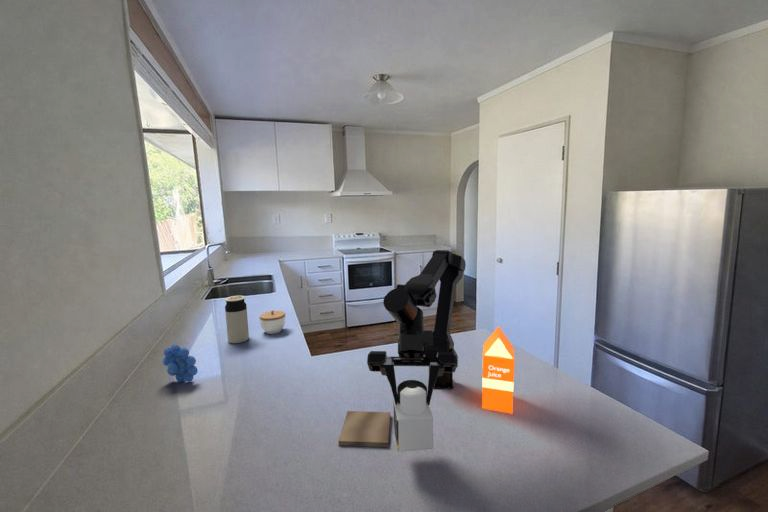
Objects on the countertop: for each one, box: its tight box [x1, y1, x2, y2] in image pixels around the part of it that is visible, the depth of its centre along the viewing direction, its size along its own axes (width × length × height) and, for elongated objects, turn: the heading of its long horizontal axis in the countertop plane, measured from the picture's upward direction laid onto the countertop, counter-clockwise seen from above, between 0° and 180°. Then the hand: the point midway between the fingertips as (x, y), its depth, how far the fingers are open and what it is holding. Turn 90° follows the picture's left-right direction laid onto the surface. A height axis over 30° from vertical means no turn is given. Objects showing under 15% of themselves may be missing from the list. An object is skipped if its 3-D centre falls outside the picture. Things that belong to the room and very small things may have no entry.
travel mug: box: [224, 295, 250, 344], centre depth 134 cm, size 8×8×18 cm
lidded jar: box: [259, 310, 286, 335], centre depth 144 cm, size 11×11×9 cm
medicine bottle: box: [393, 379, 434, 453], centre depth 67 cm, size 7×7×12 cm
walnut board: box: [338, 410, 391, 448], centre depth 78 cm, size 11×11×1 cm
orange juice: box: [481, 325, 515, 414], centre depth 87 cm, size 8×9×20 cm
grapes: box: [162, 344, 198, 383], centre depth 101 cm, size 12×7×12 cm, turn 79°
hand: (412, 404), depth 65 cm, fingers closed on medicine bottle, 6 cm apart
